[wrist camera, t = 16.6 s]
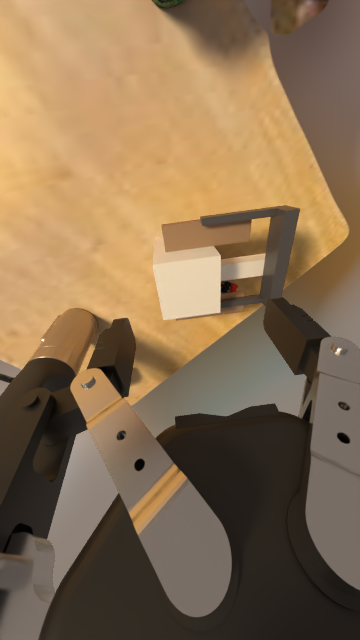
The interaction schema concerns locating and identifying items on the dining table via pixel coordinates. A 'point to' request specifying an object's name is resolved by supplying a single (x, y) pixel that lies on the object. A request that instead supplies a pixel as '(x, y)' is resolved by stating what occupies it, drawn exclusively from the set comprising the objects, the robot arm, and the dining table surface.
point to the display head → (200, 267)
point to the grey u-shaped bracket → (276, 250)
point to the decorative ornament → (167, 2)
